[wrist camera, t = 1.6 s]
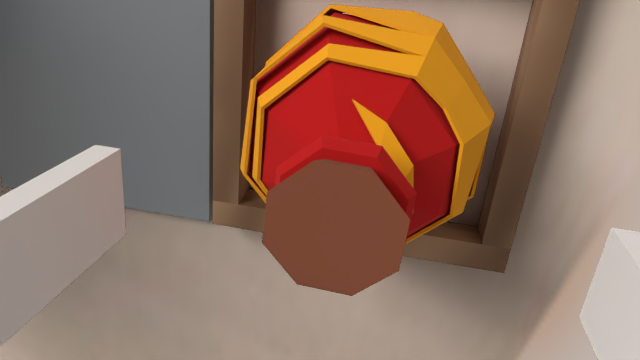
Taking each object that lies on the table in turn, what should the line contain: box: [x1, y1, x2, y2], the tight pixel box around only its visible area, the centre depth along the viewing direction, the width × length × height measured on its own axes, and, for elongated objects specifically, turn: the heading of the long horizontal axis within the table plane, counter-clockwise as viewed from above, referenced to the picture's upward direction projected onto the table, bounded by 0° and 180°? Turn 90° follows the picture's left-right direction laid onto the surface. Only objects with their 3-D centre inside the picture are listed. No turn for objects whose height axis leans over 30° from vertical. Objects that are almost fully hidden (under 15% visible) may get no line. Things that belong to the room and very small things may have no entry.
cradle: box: [213, 0, 580, 273], centre depth 27 cm, size 16×16×2 cm
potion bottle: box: [240, 4, 495, 296], centre depth 21 cm, size 10×10×15 cm
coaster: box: [0, 0, 214, 222], centre depth 30 cm, size 14×14×1 cm
